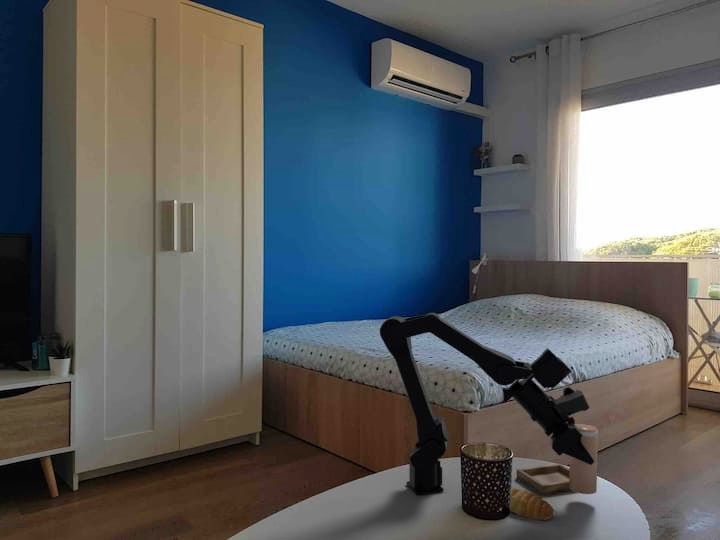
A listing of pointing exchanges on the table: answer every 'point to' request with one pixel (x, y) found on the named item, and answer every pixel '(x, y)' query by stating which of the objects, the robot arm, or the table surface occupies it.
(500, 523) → the table surface
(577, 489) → the tumbler
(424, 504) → the table surface
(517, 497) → the pastry
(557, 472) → the tray
